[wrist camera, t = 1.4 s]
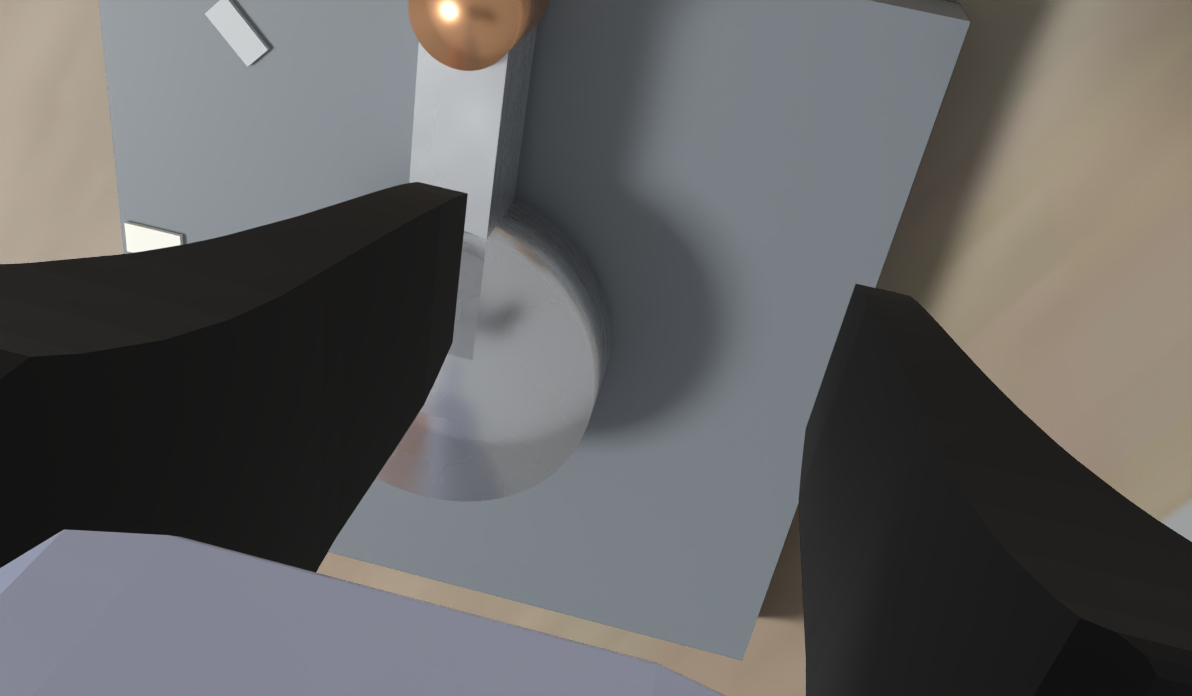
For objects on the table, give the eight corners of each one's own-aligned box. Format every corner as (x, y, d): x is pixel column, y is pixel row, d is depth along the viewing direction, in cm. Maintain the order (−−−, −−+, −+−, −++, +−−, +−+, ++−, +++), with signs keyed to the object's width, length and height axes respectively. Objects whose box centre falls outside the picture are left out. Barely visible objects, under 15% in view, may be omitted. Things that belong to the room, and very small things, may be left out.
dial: (585, 475, 23) (564, 539, 21) (319, 408, 23) (275, 465, 21) (688, -28, 17) (672, -3, 15) (328, -104, 17) (270, -89, 15)
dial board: (745, 617, 26) (741, 663, 25) (179, 470, 27) (146, 507, 26) (959, 3, 18) (971, 23, 17) (130, -170, 19) (78, -165, 18)
